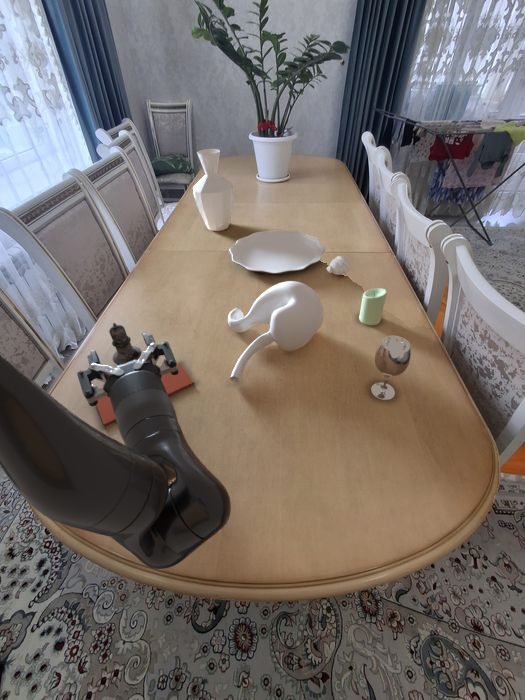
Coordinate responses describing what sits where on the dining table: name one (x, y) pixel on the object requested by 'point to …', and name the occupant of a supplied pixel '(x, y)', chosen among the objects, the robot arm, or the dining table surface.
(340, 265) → the garlic bulb
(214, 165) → the vase
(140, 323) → the dining table surface
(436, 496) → the dining table surface
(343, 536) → the dining table surface
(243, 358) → the stomach
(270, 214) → the dining table surface
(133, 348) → the chess piece
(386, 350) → the wineglass
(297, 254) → the plate
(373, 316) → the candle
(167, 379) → the rectangular block
